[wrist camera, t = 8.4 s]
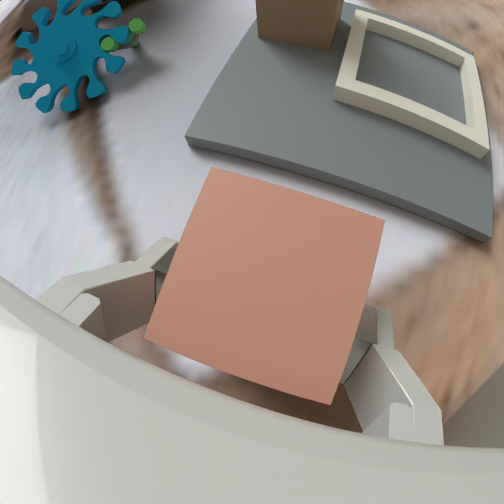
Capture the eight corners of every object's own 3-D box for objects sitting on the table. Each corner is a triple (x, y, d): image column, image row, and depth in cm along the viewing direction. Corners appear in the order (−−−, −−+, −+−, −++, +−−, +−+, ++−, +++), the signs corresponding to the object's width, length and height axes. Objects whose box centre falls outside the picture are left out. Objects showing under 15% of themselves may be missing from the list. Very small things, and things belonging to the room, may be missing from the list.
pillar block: (213, 334, 14) (143, 338, 6) (242, 252, 15) (211, 167, 7) (297, 363, 13) (330, 405, 5) (325, 279, 14) (384, 220, 6)
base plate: (188, 145, 17) (151, 55, 10) (278, -3, 21) (276, -65, 14) (482, 242, 14) (562, 197, 8) (469, 59, 18) (498, 6, 12)
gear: (13, 129, 17) (8, 13, 12) (45, 118, 22) (40, 22, 17) (145, 95, 18) (141, -31, 13) (157, 94, 23) (153, -9, 18)
